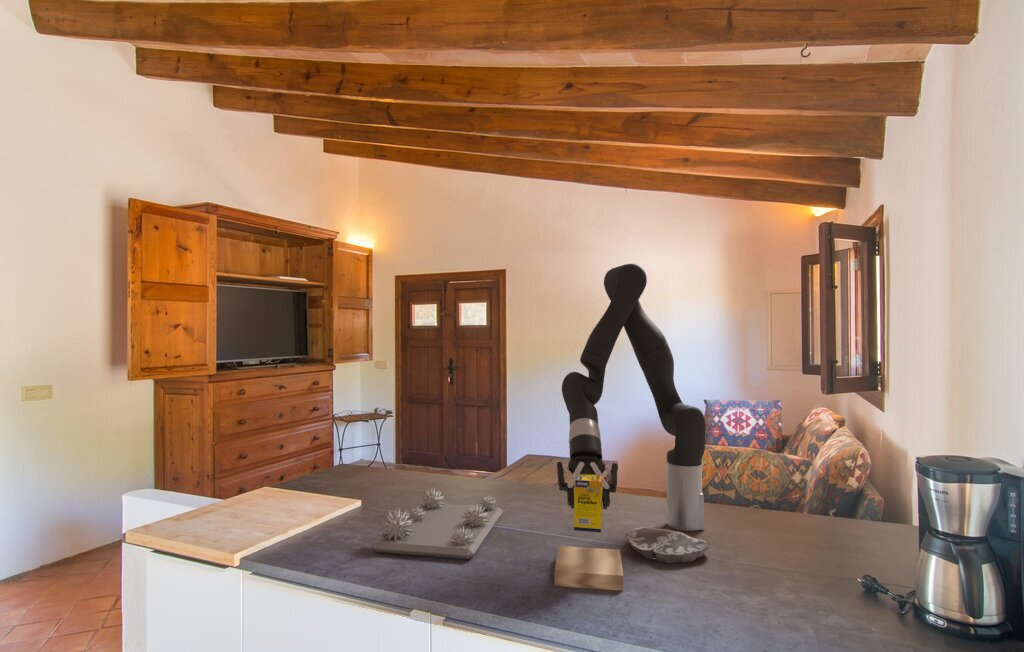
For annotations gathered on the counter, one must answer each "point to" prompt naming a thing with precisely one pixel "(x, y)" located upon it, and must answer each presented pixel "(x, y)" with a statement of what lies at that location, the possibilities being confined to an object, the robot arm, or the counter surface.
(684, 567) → the counter surface
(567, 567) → the oak base board
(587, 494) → the supplement box
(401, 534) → the decorative tray
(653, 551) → the brain slice
